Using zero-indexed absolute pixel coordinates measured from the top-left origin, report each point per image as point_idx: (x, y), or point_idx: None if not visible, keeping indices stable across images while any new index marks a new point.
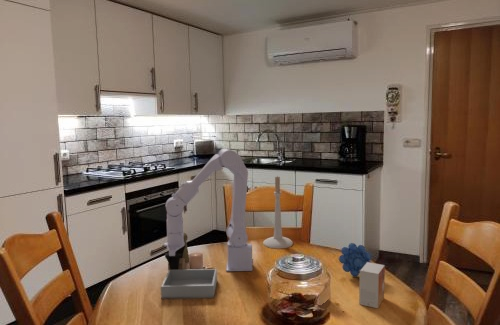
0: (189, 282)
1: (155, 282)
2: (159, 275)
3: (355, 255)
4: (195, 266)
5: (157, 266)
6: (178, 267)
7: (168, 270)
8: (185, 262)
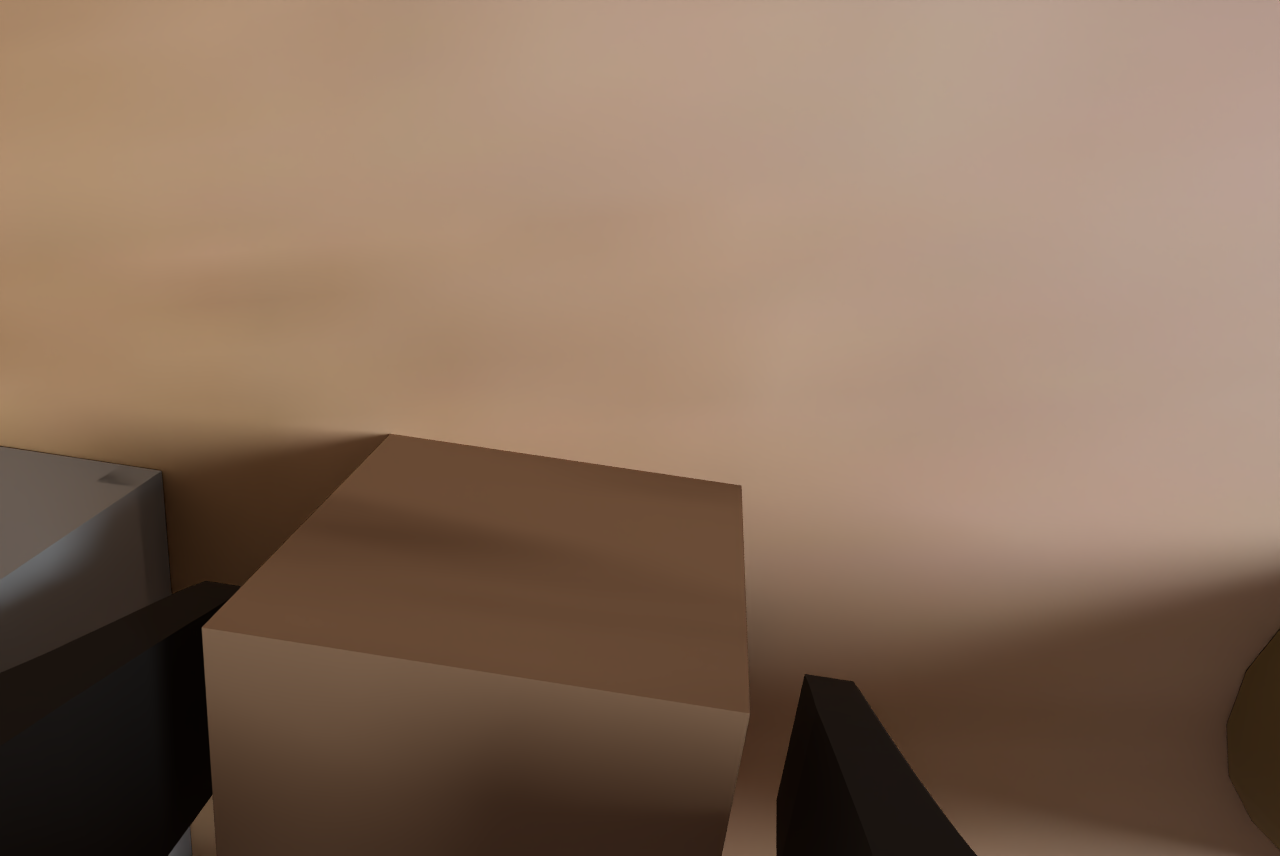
0: None
1: (67, 130)
2: (510, 194)
3: None
4: None
5: (1262, 55)
6: (155, 844)
7: (319, 512)
8: (1245, 800)
